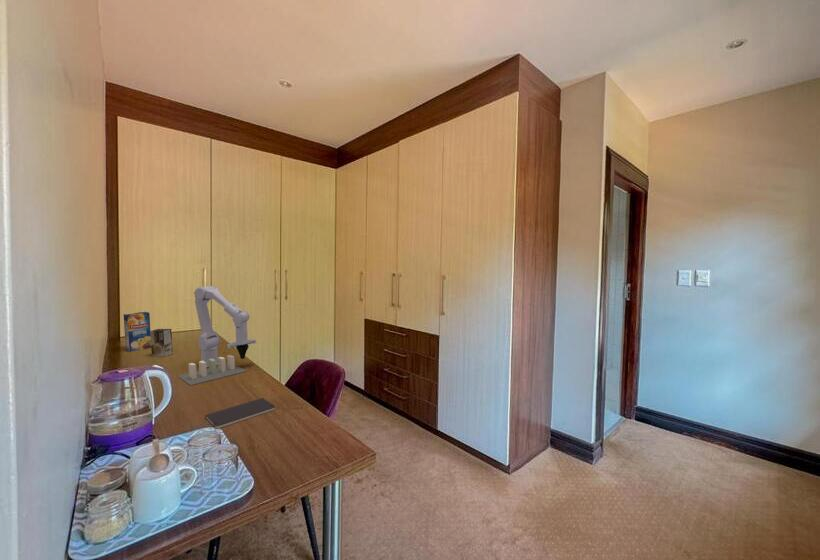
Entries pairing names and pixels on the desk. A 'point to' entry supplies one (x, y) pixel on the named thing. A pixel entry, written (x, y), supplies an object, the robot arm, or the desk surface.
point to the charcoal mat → (210, 375)
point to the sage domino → (212, 366)
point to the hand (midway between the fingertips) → (242, 358)
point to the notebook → (239, 412)
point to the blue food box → (137, 331)
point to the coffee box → (161, 342)
